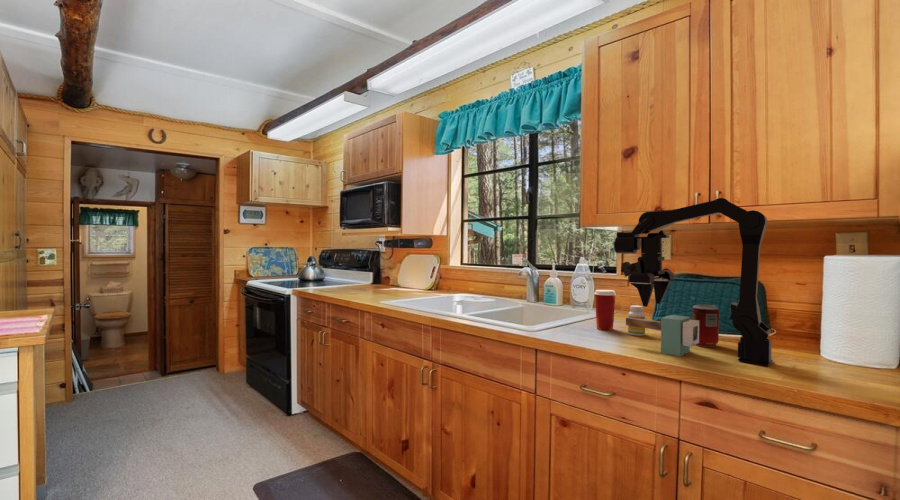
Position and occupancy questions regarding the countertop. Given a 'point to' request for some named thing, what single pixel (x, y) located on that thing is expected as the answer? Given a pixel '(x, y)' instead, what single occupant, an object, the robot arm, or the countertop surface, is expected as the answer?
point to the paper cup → (605, 309)
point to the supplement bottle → (637, 313)
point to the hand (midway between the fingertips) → (651, 304)
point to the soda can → (707, 324)
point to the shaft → (646, 323)
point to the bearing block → (673, 335)
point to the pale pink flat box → (690, 333)
